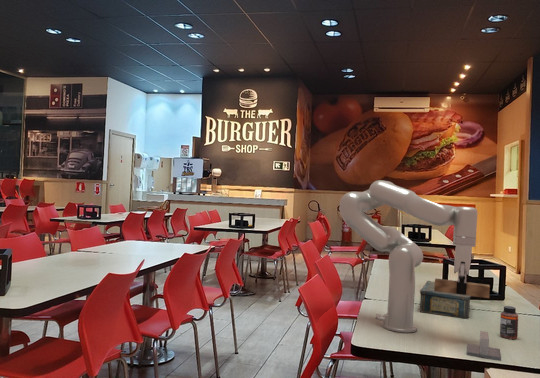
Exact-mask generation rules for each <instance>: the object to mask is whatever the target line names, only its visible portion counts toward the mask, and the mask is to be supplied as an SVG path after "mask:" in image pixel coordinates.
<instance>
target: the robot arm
mask: <svg viewBox="0 0 540 378" xmlns="http://www.w3.org/2000/svg"><path fill="white" fill-rule="evenodd" d="M384 205H385V206H388V207H390V208H394V209H395V210H397V211H401V212H403V213H405V214H407V215H409V216H412V217H413V218H416V219H419V220H421V221H423V222H426V223H429V224H431V225H434V226H438V227H441V226H443V227H445V226H453V233H452V234H453V237H452V245H454V246H455V250H454V252H455V253H454V262H453V263H454V265H453V273H454V274H457V280H456V281H458V282H457V289H456V293H457V294H463V295H466V287H467V283H466V282H468V281H467V275H469V274H470V269H471V268H470V267H471V261H472V259H471V258H472V249H473V247H474V248H475V247H476V243H477V241H476V240H477V229H478V228H477V227H478V209H477V208H475V207H472V206H471V207H470V206H454V205H453V206H452V205H449V204H440V203H436V202H433V201H430V200H428V199H426V198H424V197H421V196H419V195H417V194H416V192H415V191H413V190H410V189H407V188H405V187H402V186H399V185H396V184H394V183H393V182H391V181H389V180H381V179H379V180H375V181H373V182H372V183H371V184H370V186H369V188H368V189H366V190H364V191H350V192H346V193H344V195H342V196H341V199H340V201H339V214H340V217H341V218H342V220H343V221H344V223H345V224H346V225H347V226H348V228H350V229H351V230H352V231H354V232H355V233H356V234H357V235H358V236H359V237H361V239H363V240H364V241H365V242H367V244H369V245H370V246H371V247H372V248H373V249H375V251H377V252H381V253H382V252H387V253H389V256H388V269H389V271H388V272H389V276H388V277H389V280H388V295H387V296H388V297H387V313H386V314H385V313H384V314H380V313H375V319H376V320H378V321H383V322H382V327H383V328H384V329H386V330H388V331H392V332H397V333H407V334H408V333H415V332H417V330H418V327H417V326H416V325H415V324H414V309H415V296H416V295H415V294H416V293H415V292H416V291H415V290H416V272H415V268H417V267H418V266H420V265H421V264H422V263H423V260H424V254H423V251H422V248H420V246H418V244H416V243H415V242H414V241H412V240H411V239H410V238H409V237H407V236H406V235H405V234H403V233H402V232H401V231H400V230H398V229H397V228H395V227H392V226H383V225H381V224H380V223H379V222H377V221H376V220H374V218H372V217H371V216H369V215H368V214H367V213H366V212H370V211H374V209H377V208H379V207H382V206H384Z"/></svg>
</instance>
